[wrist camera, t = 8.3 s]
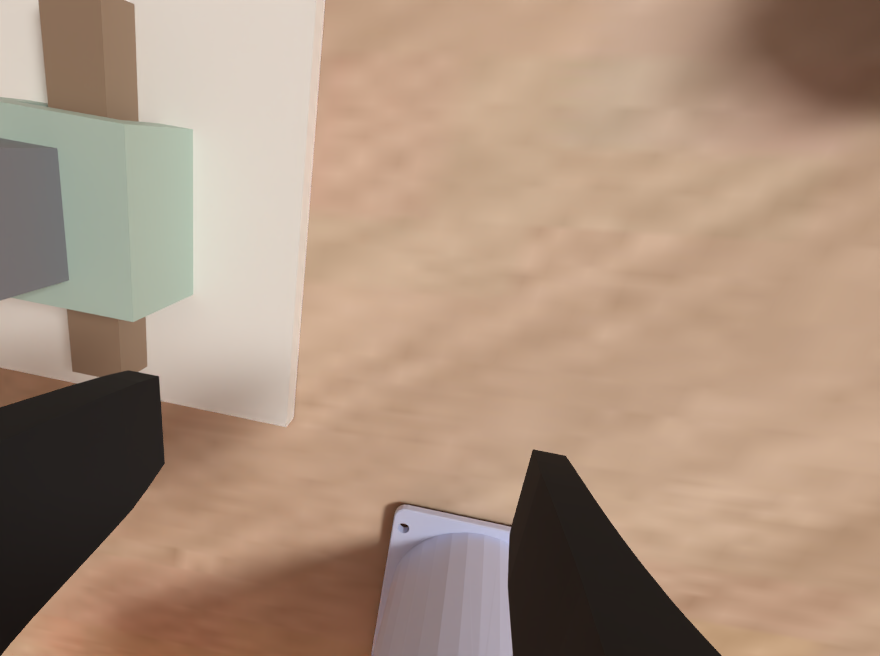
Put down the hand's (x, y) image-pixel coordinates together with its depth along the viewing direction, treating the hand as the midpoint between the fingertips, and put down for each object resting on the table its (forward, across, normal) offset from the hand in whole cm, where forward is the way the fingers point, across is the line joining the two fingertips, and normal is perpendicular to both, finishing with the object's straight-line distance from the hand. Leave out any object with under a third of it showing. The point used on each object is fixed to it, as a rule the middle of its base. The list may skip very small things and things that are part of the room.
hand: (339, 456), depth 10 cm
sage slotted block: (+10, +12, -1) cm, 15 cm away
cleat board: (+11, +11, -1) cm, 16 cm away
